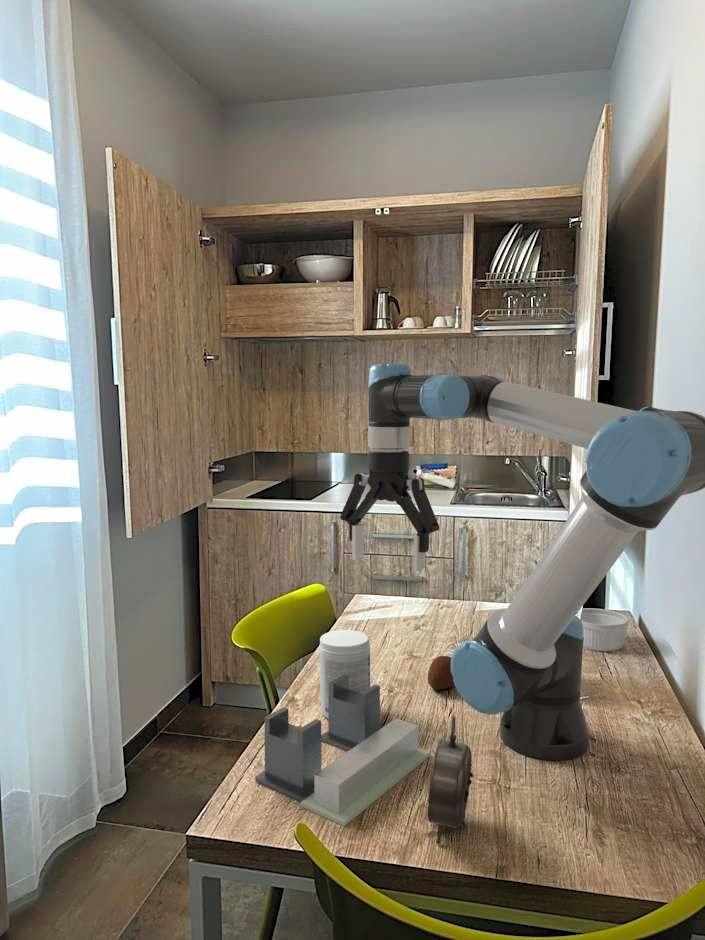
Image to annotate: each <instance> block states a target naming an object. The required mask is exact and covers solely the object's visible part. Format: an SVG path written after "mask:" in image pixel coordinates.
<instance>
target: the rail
mask: <svg viewBox="0 0 705 940" xmlns="http://www.w3.org/2000/svg"><path fill="white" fill-rule="evenodd" d="M419 727H420V725H417V724H414V723H412V722H408V721H405V720H403V719H400V718H394V719H393V720H391V721H390V722H389V723H387V724H386V725H384V726H383V727H381V728H380V730H378V731H377V732H375V733H374V734H373V735H371V736H370V737H368V738H367V739H365V740H364V741H362V742H361V743H359V744H358V745H357V746H355V747H354V748H352V749H351V750H349V751H346V752H345V753H343V754H342V755H340V756H339V757H337V758H336V759H334V760H333V761H332V762H330V763H329V764H328V765H326V766H325V767H324V768H321V770H320V771H319V772H317V773H316V774H315V775H314V804H317V805H319V806H321V807H323V808H326V809H328V810H330V811H332V812H334V813H337V814H340V813H341V812H343V811H344V810H345V809H347V808H348V807H349V806H350V805H352V804H353V803H354V802H355V801H357V800H358V799H359V798H360V797H362V796H363V795H364V794H365V793H367V792H368V791H369V790H370V789H372V788H373V787H374V786H375V785H377V784H378V783H379V782H380V781H382V780H383V779H384V778H385V777H387V776H388V775H389V774H390V773H392V772H393V771H394V770H395V769H397V768H398V767H399V766H400V765H402V764H403V763H404V762H405V761H407V760H408V759H409V758H411V757H412V756H413V755H414V754H416V753H417V752H418V748H419V731H420V728H419Z"/></svg>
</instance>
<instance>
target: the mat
mask: <svg viewBox="0 0 705 940" xmlns="http://www.w3.org/2000/svg"><path fill="white" fill-rule="evenodd" d="M430 757H431V751H429V750H425V749H422V748H420V747H418V752H417V753H416V754H414V755H413V756H412V757H411V758H409V759H408V760H407V761H405V762H404V763H403V764H402V765H400V766H399V767H398V768H397V769H395V770H394V771H393V772H392V773H390V774H389V775H388V776H387V777H385V778H384V779H383V780H382V781H380V782H379V783H378V784H377V785H375V786H374V787H373V788H372V789H370V790H369V791H368V792H367V793H365V794H364V795H363V796H362V797H360V798H359V799H358V800H357V801H355V802H354V803H353V804H352V805H350V806H349V807H348V808H347V809H345V810H344V811H343V812H341V813H340V814H337V813H334V812H332V811H330V810H328V809H326V808H323V807H321V806H319V805H317V804H314V793H313V794H312V795H310V796H309V797H308V798H306V799H305V800H303V801H302V802H300V807H301V808H304V809H306V810H308V811H311V813H314V814H317V815H319V816H322V817H323V818H325V819H327V820H330V821H332V822H334V823H336V824H339V825H341V826H343V827H345V826H346V825H348V824H349V823H350V822H351V821H353V820H354V819H355V818H356V817H357V816H359V815H360V814H361V813H362V812H364V811H365V810H366V809H367V808H368V807H370V806H371V805H372V804H373V803H374V802H376V801H377V800H378V799H380V798H381V797H382V796H383V795H385V794H386V793H387V792H388V791H389V790H391V789H392V788H394V786H396V785H397V784H398V783H399V782H400V781H401V780H403V779H404V778H405V777H407V776H408V775H409V774H410V773H411V772H412V771H413V770H415V769H416V768H417V767H419V766H420V765H421V764H422V763H424V762H425V760H427V759H428V758H430Z"/></svg>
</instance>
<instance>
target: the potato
mask: <svg viewBox="0 0 705 940" xmlns="http://www.w3.org/2000/svg"><path fill="white" fill-rule="evenodd" d="M451 658H452V656H449V655H439V656H437V657H435V658H433V660H432V662H431V664H430V665H429V668H428V672H427V683H428V684H429V685H428V686H430V687H431V688H432V689H434V690H445V689H448V688H452V687H454V686H455V684H454V681H453V675H452V673H451Z"/></svg>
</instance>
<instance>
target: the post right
mask: <svg viewBox="0 0 705 940" xmlns="http://www.w3.org/2000/svg"><path fill="white" fill-rule="evenodd" d="M327 719H328V720H327V721H328V730H327V731H326V732H324V733H323V734H321V742H323V743H326V744H328V745H331V746H333V747H336V748H338V749H341V750H344V751H346V752H348V751H349V750H351V749H352V748H354V747H355V746H357V745H358V744H359V743H361V742H362V741H364V740H365V739H367V738H368V737H370V736H371V735H373V734H374V733H375V732H377V731H378V730H380V729H381V728H380V727H381V722H380V721H381V720H380V719H381V685H380V684H379V685H378V684H373V685H372V686H370V688H368V689H366V690H365V691H363V692H361V693H359V692H356V691H352V690H349V676H346V675H343V676H341V677H339V678H337V679H335V680H334V681H332V682H330V683H329V696H328V718H327Z"/></svg>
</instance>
